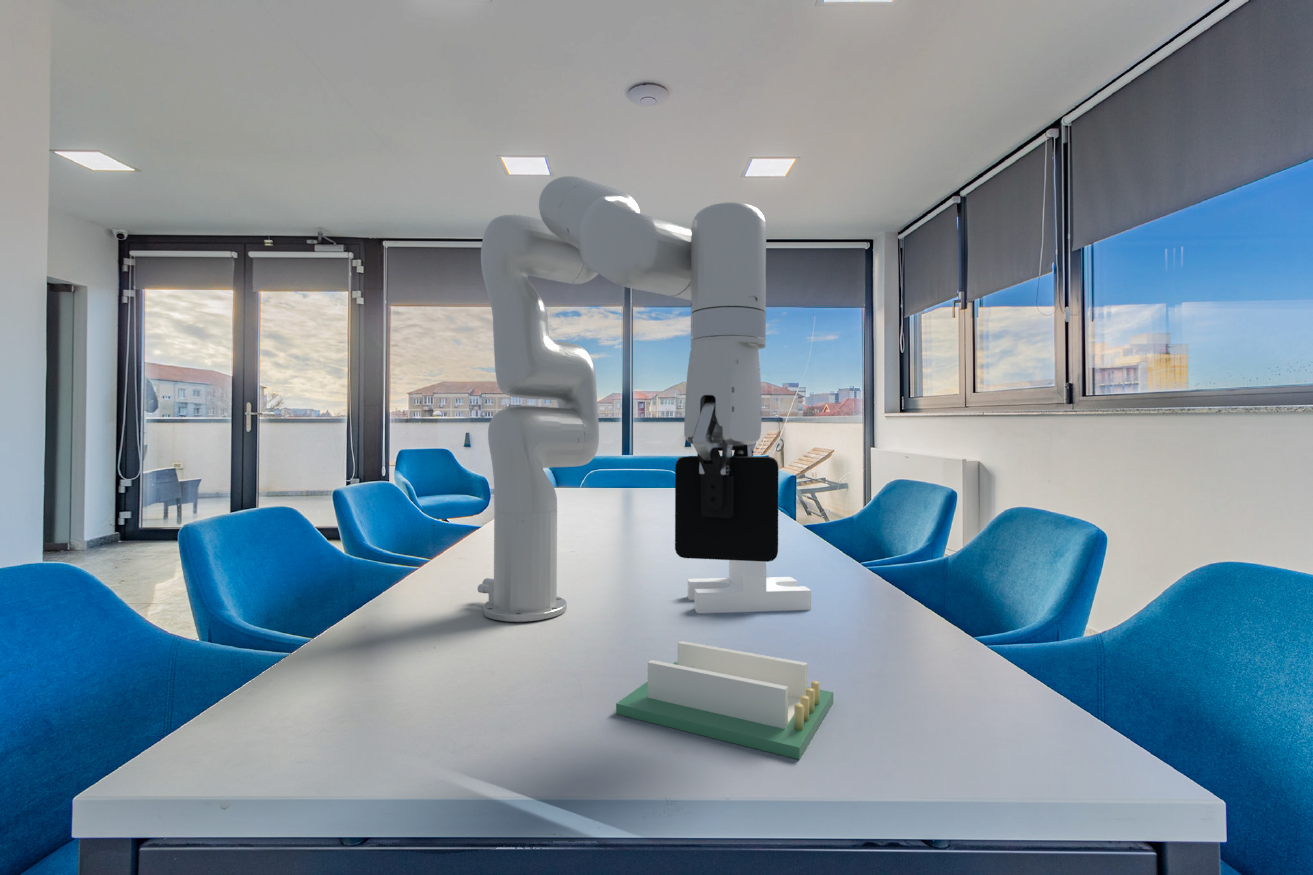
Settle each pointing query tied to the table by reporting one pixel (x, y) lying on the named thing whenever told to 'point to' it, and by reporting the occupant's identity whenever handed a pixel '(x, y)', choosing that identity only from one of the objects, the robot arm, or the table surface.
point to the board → (732, 698)
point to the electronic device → (752, 518)
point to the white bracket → (748, 591)
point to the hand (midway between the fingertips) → (727, 512)
